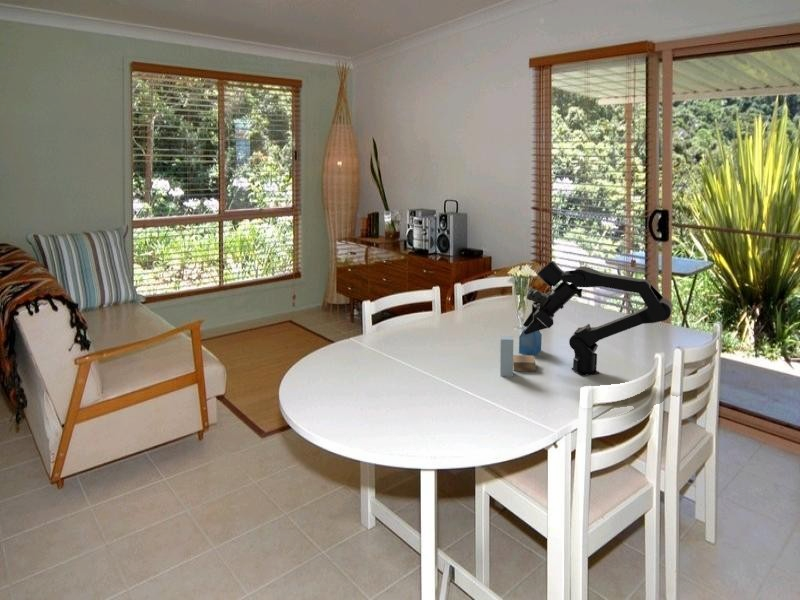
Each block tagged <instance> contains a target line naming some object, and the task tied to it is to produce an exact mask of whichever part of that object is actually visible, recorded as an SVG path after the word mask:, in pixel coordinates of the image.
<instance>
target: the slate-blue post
mask: <svg viewBox="0 0 800 600" xmlns="http://www.w3.org/2000/svg"><path fill="white" fill-rule="evenodd" d="M499 350H500V358H499V359H500V360H499V361H500V364H499V365H500V366H499V367H500V368H499V372H500V377H514V369H513V355H514V335H500V349H499Z"/></svg>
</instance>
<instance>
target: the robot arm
mask: <svg viewBox="0 0 800 600" xmlns="http://www.w3.org/2000/svg"><path fill="white" fill-rule="evenodd" d="M536 276H537V277H538V278H539V279H540V280H541V281H543V282H544V283H545V284H546V285H547V287H549V288H550V287H553V288H554V289H553V290H552V291H549V292H546V293H545V292H542V291H540V290H537V289H535V288H533V287H529V289H528V291H527V294H526V296H525V297H526V299H527V301H528V300H529V301H532V304H531V312H530V314H528V317H527V318H526V320H525V321H524V322H523V324H522V326H523V327H524V328H526V330H525V331H524V334H526V335H527V334H530V333H533V332H536V331H541V330H542V331H543V330H545V329H550V328H551V327H552V326H553V325H554V317H555V314H556V313H557V312H558V311H559V310H560V309H561V310H563V309H564V307H565V305H566V303H568V302H569V301H570V300H571V299H573V297H574V296H575V295H576V296H578V297H579V298H582V296H583V288H596V287H597V288H599V287H600V288H605V289H606V288H607V289H614V290H617V291H624V292H631V293H637V294H639V296H640V298H641V299H642V300H643V303H644V304H645V306H644V307H642V308H640V309H639V310H637V311H635V312H632V313H630V314H627V315H624V316H621V317H619V318H617V319H614V320H611V321H609V322H607V323H604V324H601V325H598V326H594V327H591V325H590V323H588V324H586V325H585V326H582V327H577V329H576V330H575V331H574V332H573V334H572V335H571V336H570V338H569V340H568V344H569V346H570V348H571V349H572V350H573V352H574V358H573V362H572V366H573V367H571V370H572V371H573V370H574V371H573V372H575V373H576V372H577V374H578V375H579V376H581V375H584V376H590V375H591V374H592V375H597V374H600V372H599V371H598V370H597V363H598V362H597V361H598V354H597V353H596V351H597V349H598V347H599V344H597V343H598V342H599V341H601V340H603V339H606V338H609V337H611V336H613V335H616V334H619V333H621V332H625V331H628V330H629V329H632V328H635V327H638V326H640V325H644V324H645V325H647V324H654V323H660V322H665V321H666V320H668V319H670V316H671V315H672V311H673V304H672V302H671V301H670V300H669V299H668V298H665V297H664V296H663V295H662V294H661V293H660V292H659V290H657V289H656V288H655V287H654V286H653V284H652V283H651V281H649V280H648V279H646V278H642V279H641V278H633V277H629V276H628V277H627V276H621V275H615V274H607V273H603V272H600V271H598V270H596V269H594V268H591V267H587V266H584V265H583V266H579V267H577V268H575V269H573V270H572V269H571V270H566V271H564V270H562V269H561V268H560V267H559V265H557V263H556V262H555V261H554V260H552V261H550V262H549V263H548V264H547V265H546V266H545V267H542V269H541V270H540V271H539V272H537V274H536ZM561 281H562V282H561ZM560 282H561V283H560ZM558 284H559V285H558ZM556 286H557V287H556ZM527 326H528V327H527Z"/></svg>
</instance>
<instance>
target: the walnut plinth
mask: <svg viewBox="0 0 800 600" xmlns="http://www.w3.org/2000/svg"><path fill="white" fill-rule="evenodd" d="M514 371H515V372H518V371H519V372H536V360H535V356H534V355H527V354H522V355H520V354H519V355H517V354H516V355H515V354H513V372H514Z"/></svg>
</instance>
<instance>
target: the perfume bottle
mask: <svg viewBox="0 0 800 600" xmlns="http://www.w3.org/2000/svg"><path fill="white" fill-rule="evenodd" d="M527 327H528V326H527ZM527 327H524V329H523V330H522V332H521V333H520V335H519V338H518V353H519V354H522V355H527V356H534V357H536V356H537V355H538V354H539V353H541V352H542V336H543V335H542V333H541V330H539V331H536V332H533V333H530V334H527V335H526V334H524V331H525V330H526V328H527Z"/></svg>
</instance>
